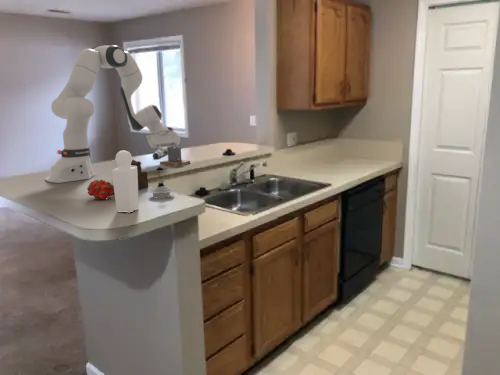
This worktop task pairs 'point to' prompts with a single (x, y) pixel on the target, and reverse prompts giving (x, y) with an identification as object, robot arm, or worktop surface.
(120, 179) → the white bottle
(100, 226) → the worktop surface
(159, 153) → the grey dark-ended cylinder
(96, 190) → the dragon fruit
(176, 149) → the dark grey box
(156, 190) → the grey knobbed stem base
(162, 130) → the robot arm
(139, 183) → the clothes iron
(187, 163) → the post plate
